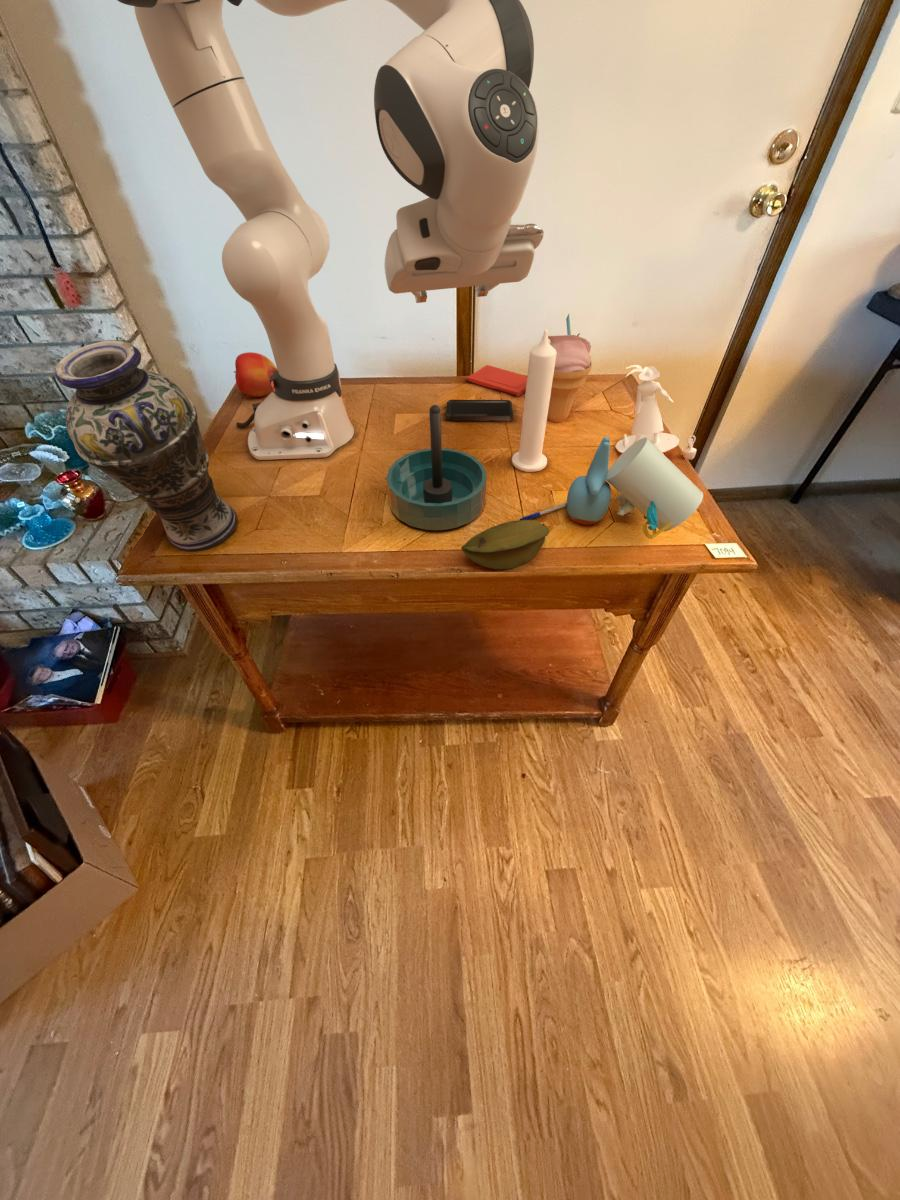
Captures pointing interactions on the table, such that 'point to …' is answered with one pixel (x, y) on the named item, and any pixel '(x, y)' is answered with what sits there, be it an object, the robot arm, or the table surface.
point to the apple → (253, 374)
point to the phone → (479, 410)
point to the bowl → (417, 469)
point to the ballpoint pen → (543, 512)
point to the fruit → (507, 544)
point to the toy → (591, 489)
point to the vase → (144, 440)
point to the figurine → (651, 416)
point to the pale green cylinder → (653, 488)
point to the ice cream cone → (567, 372)
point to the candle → (536, 407)
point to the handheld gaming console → (500, 380)
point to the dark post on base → (436, 464)
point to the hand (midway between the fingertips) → (450, 294)
